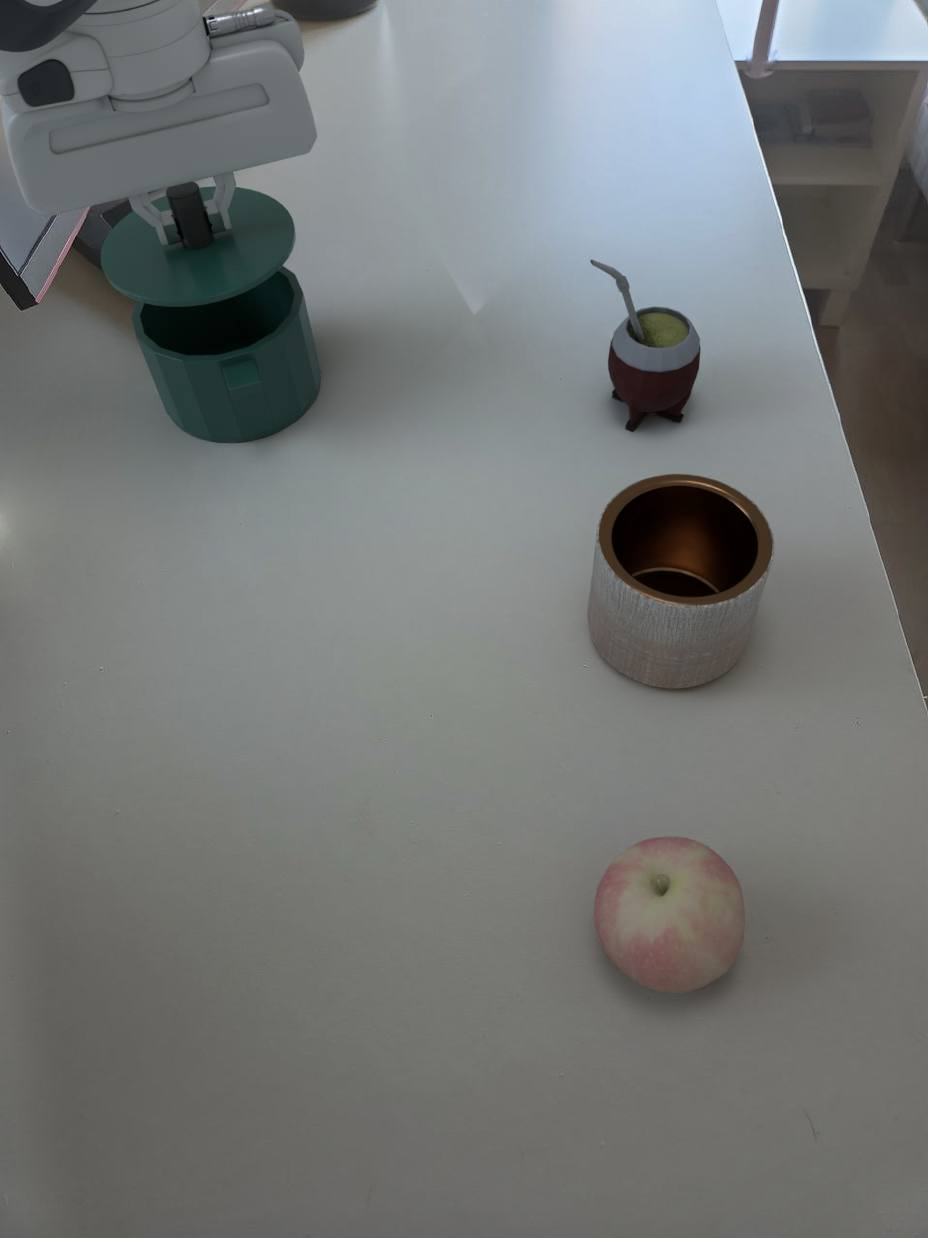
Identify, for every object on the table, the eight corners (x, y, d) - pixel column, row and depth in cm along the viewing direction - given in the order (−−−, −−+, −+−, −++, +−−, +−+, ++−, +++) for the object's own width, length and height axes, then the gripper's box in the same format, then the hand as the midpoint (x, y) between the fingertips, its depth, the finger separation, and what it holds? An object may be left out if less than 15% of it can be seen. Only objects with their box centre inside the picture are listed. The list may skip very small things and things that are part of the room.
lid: (120, 335, 67) (93, 271, 63) (94, 225, 75) (68, 163, 71) (319, 282, 69) (305, 217, 65) (272, 181, 77) (258, 118, 73)
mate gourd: (704, 396, 79) (737, 232, 67) (661, 456, 76) (687, 293, 63) (624, 366, 82) (641, 203, 70) (578, 422, 78) (588, 260, 66)
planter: (760, 691, 63) (793, 605, 55) (593, 696, 63) (603, 612, 56) (732, 561, 69) (758, 467, 61) (580, 567, 70) (587, 474, 62)
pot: (186, 483, 77) (153, 402, 70) (148, 343, 87) (116, 260, 80) (347, 436, 79) (330, 353, 72) (291, 304, 89) (272, 221, 82)
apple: (678, 848, 57) (698, 790, 51) (760, 963, 53) (793, 916, 47) (564, 913, 55) (570, 861, 49) (640, 1037, 51) (657, 999, 45)
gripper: (282, -22, 63) (319, 178, 74) (-36, 46, 60) (54, 244, 71) (307, 17, 59) (342, 221, 71) (-30, 91, 56) (63, 293, 68)
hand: (195, 234), depth 71 cm, fingers closed on lid, 2 cm apart
